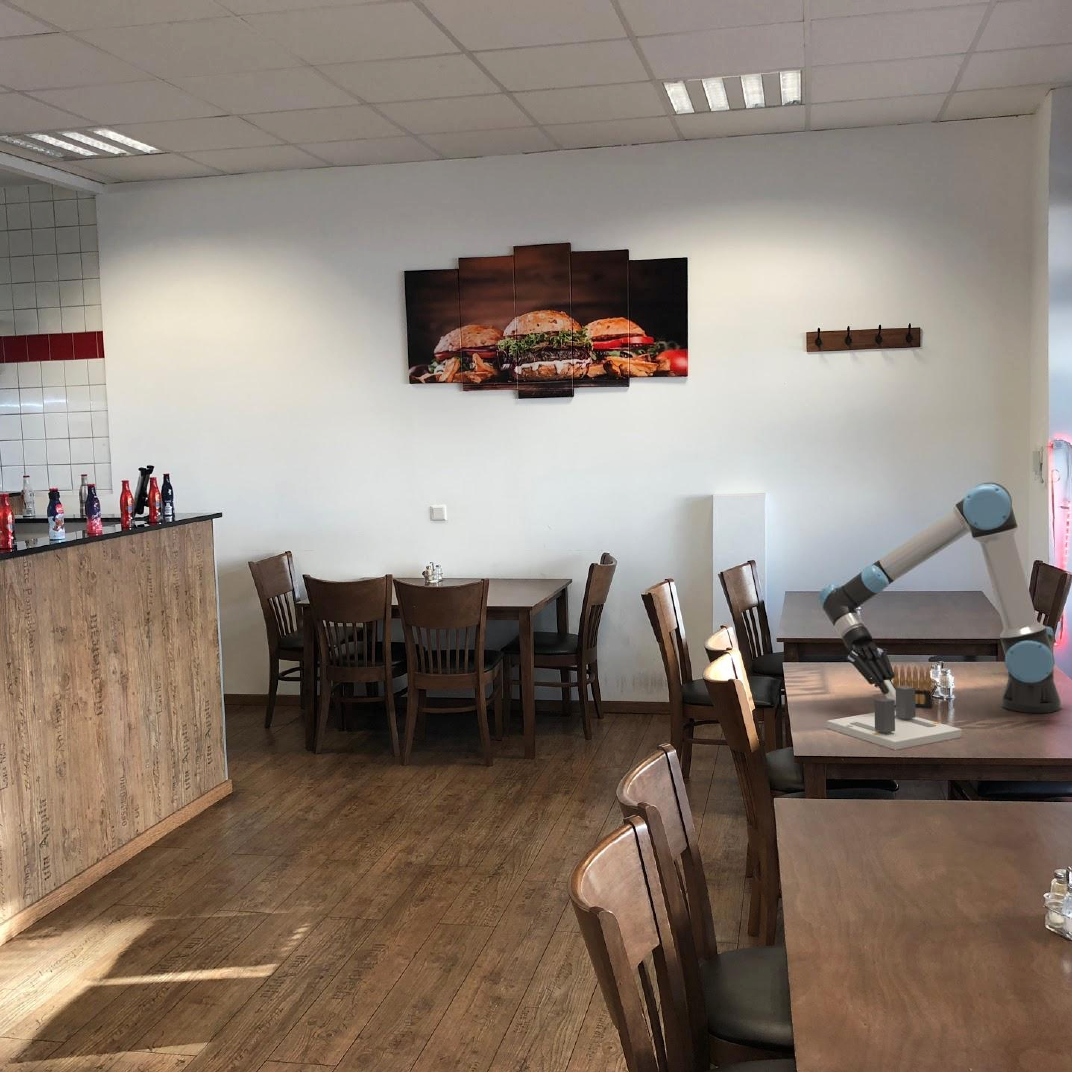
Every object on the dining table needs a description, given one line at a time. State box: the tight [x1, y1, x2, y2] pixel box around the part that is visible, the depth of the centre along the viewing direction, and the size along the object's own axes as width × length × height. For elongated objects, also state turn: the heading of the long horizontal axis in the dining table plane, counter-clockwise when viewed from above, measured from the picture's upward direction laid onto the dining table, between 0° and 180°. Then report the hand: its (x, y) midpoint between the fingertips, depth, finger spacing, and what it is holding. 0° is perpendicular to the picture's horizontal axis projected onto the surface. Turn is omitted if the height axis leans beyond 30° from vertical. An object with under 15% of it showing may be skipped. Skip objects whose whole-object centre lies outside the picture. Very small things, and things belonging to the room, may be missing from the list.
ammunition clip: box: [892, 664, 933, 710], centre depth 321 cm, size 11×2×12 cm, turn 66°
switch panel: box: [826, 710, 963, 751], centre depth 295 cm, size 26×22×2 cm
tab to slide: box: [895, 685, 917, 719], centre depth 299 cm, size 4×4×8 cm
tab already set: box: [873, 697, 896, 733], centre depth 287 cm, size 4×4×8 cm
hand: (896, 702), depth 302 cm, fingers closed
